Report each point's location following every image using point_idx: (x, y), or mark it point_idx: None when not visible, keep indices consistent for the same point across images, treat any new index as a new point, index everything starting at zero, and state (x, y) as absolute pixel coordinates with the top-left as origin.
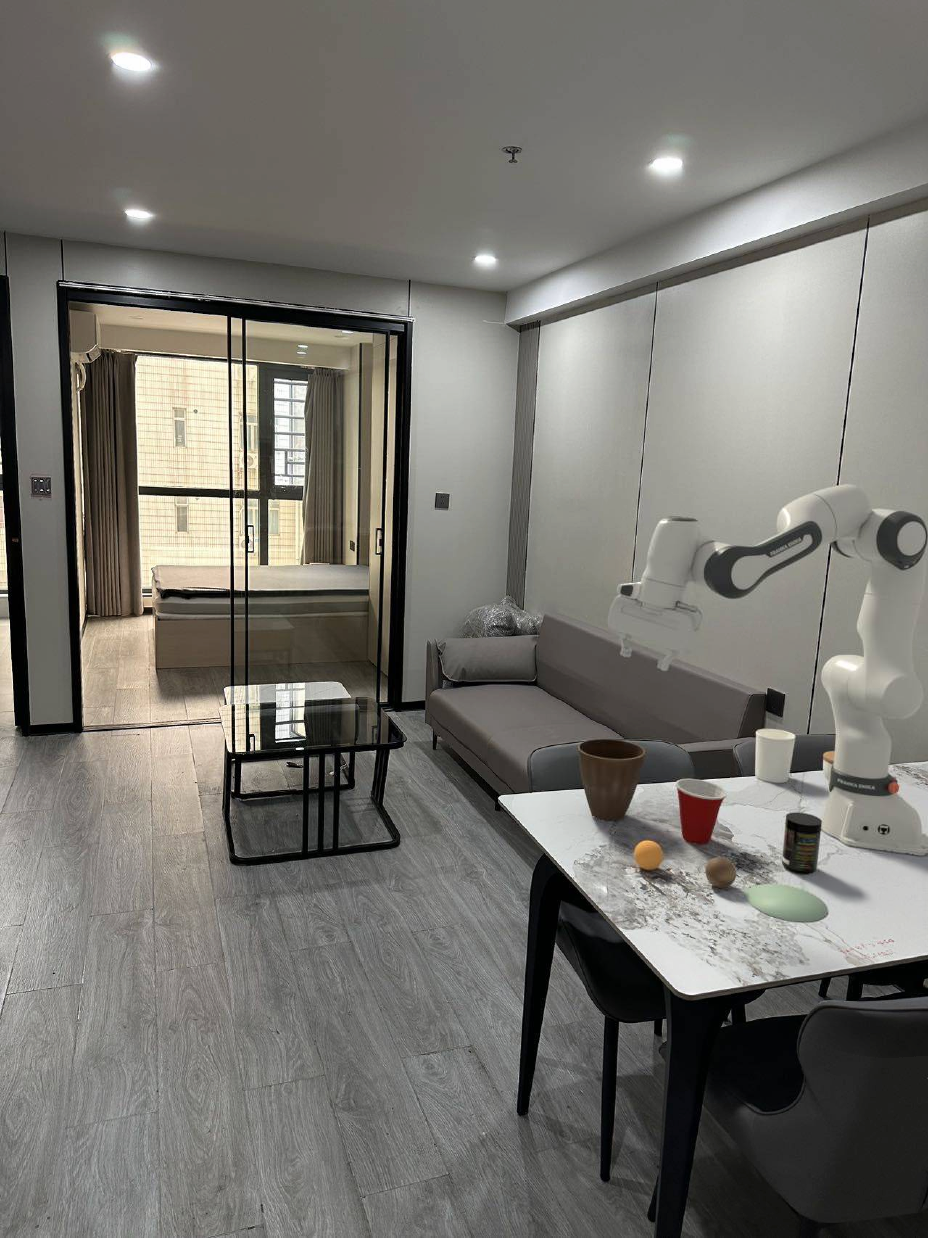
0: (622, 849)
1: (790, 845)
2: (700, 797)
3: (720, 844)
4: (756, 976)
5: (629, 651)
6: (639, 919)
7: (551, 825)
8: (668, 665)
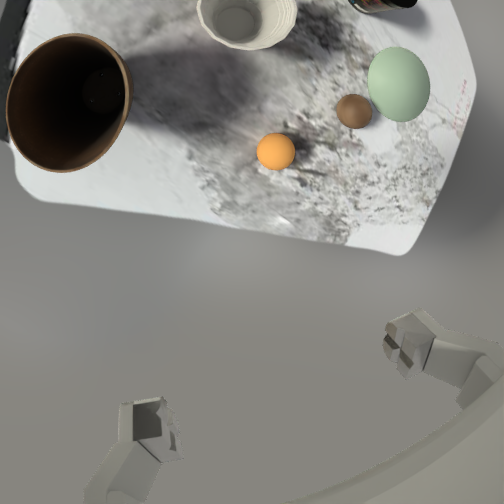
0: (211, 137)
1: (380, 9)
2: (279, 40)
3: None
4: (429, 207)
5: (168, 432)
6: (341, 227)
7: (108, 182)
8: (434, 324)
